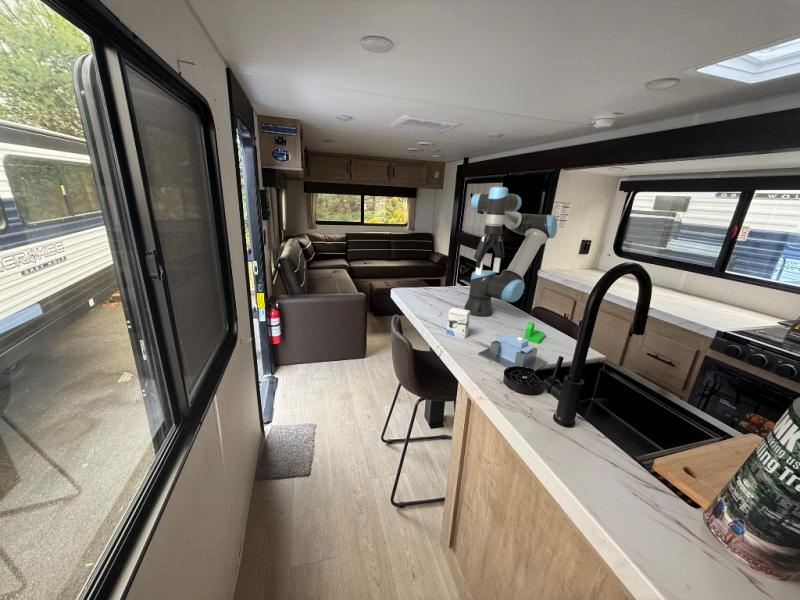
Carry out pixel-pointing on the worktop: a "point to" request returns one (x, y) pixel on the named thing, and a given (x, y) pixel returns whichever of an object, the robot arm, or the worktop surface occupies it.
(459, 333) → the ink box
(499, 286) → the robot arm
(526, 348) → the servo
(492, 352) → the chassis pocket
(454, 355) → the worktop surface
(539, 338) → the mechanical part
